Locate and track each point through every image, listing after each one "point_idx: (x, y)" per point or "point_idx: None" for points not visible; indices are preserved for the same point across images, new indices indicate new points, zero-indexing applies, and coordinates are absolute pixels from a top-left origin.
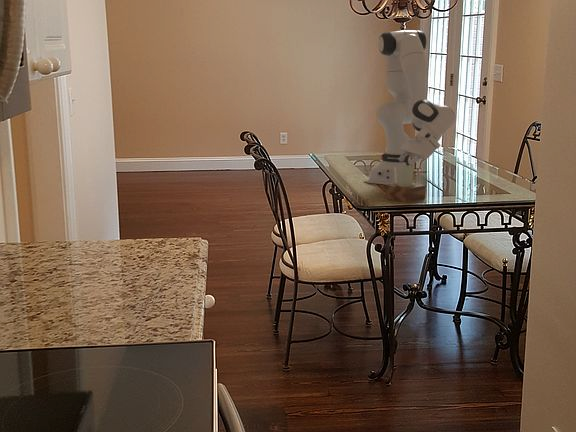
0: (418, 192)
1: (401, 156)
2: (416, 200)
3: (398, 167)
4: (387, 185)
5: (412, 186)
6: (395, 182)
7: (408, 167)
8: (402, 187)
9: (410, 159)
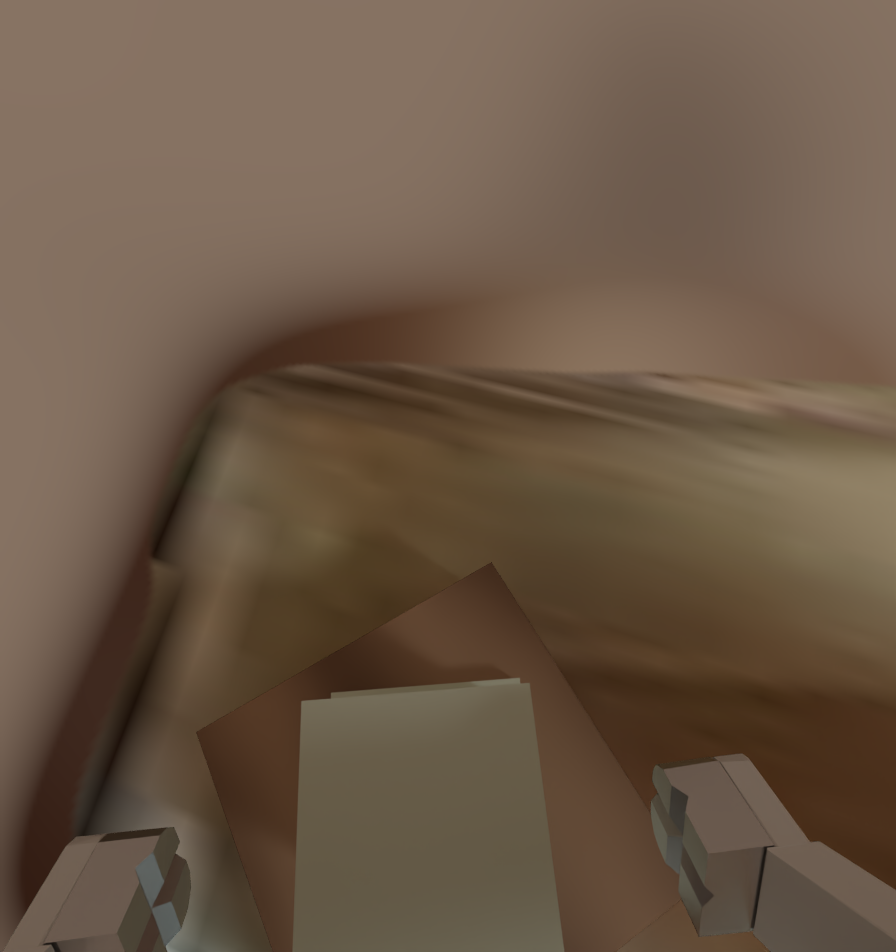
0: None
1: (750, 843)
2: None
3: (485, 687)
4: (470, 575)
5: None
6: (502, 679)
7: (325, 866)
8: None
9: (116, 923)
